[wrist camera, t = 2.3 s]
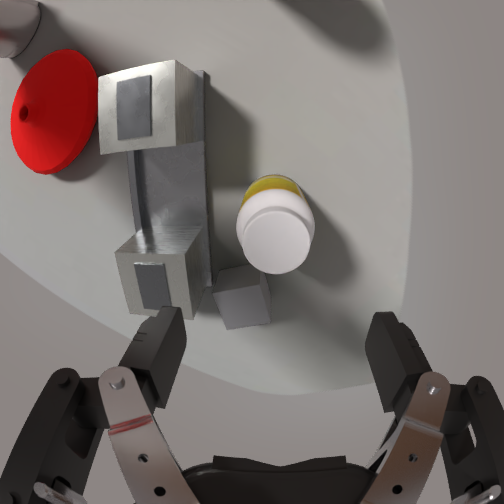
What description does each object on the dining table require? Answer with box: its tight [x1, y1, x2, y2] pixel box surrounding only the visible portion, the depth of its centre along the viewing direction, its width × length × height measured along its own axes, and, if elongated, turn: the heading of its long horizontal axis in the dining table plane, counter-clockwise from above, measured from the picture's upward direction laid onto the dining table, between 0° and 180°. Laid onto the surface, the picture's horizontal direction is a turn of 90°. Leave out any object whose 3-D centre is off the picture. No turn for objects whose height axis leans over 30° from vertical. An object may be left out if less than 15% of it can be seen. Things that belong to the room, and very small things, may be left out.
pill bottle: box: [236, 174, 315, 274], centre depth 24 cm, size 6×6×11 cm
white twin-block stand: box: [98, 60, 213, 320], centre depth 25 cm, size 24×8×8 cm, turn 0°
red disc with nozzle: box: [11, 49, 98, 175], centre depth 21 cm, size 16×16×7 cm
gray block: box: [212, 264, 271, 330], centre depth 31 cm, size 5×5×5 cm
